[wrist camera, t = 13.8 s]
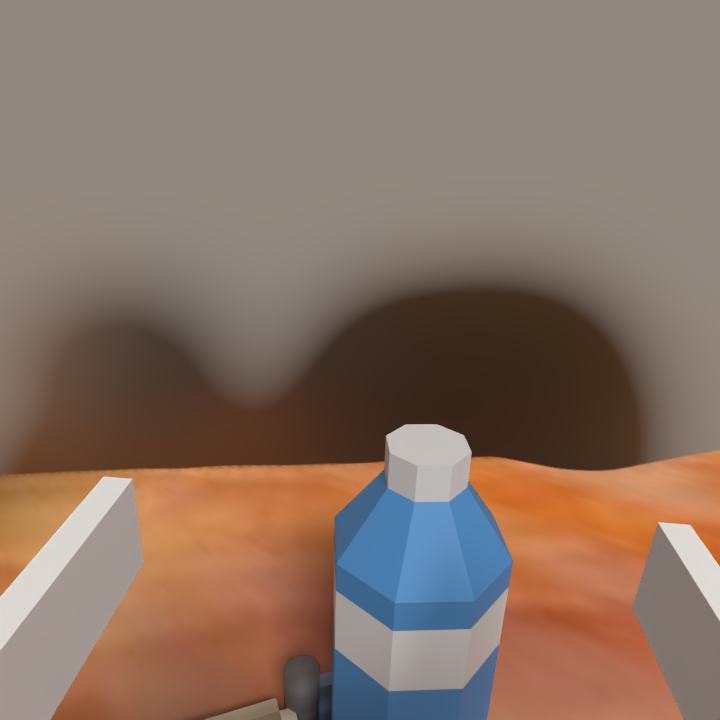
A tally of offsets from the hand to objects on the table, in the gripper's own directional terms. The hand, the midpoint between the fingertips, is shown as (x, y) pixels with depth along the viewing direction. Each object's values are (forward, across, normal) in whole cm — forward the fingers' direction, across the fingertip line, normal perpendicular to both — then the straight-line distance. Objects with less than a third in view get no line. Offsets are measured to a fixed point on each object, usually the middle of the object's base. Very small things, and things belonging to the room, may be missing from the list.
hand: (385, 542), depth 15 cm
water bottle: (+12, +2, -29) cm, 32 cm away
